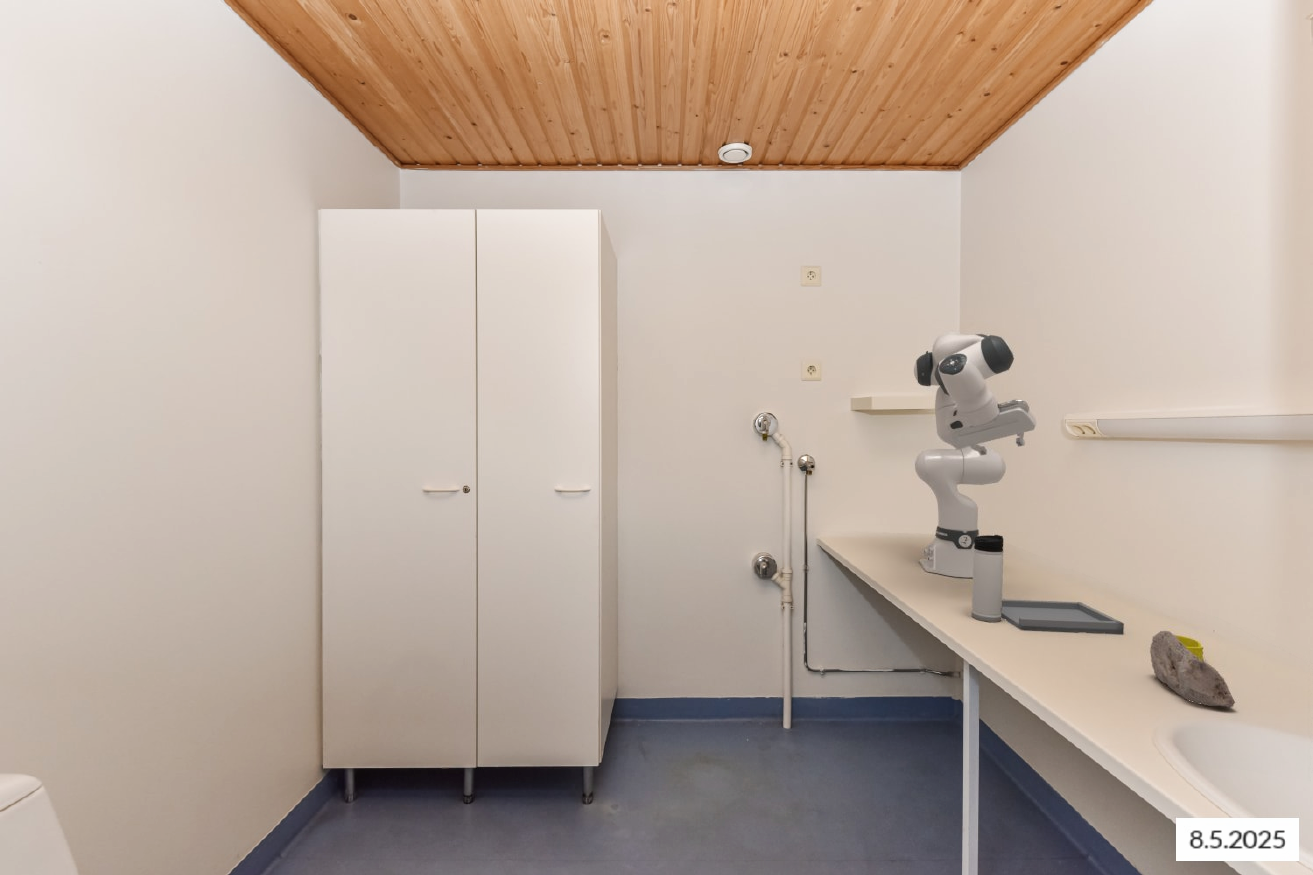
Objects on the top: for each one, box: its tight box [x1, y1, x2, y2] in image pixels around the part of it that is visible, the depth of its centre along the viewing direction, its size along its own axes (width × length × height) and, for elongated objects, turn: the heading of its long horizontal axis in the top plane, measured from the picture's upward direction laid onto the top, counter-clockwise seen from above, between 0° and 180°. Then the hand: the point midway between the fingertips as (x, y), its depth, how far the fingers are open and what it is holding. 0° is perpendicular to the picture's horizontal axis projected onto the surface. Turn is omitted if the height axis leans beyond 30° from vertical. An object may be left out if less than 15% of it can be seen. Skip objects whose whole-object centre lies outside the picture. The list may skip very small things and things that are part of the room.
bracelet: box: [1174, 634, 1204, 661], centre depth 125 cm, size 7×8×3 cm
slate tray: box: [1001, 598, 1125, 635], centre depth 146 cm, size 16×22×2 cm
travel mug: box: [971, 534, 1004, 623], centre depth 147 cm, size 6×7×20 cm
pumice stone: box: [1149, 630, 1236, 708], centre depth 107 cm, size 15×8×10 cm, turn 163°
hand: (1002, 449), depth 161 cm, fingers open, 8 cm apart
